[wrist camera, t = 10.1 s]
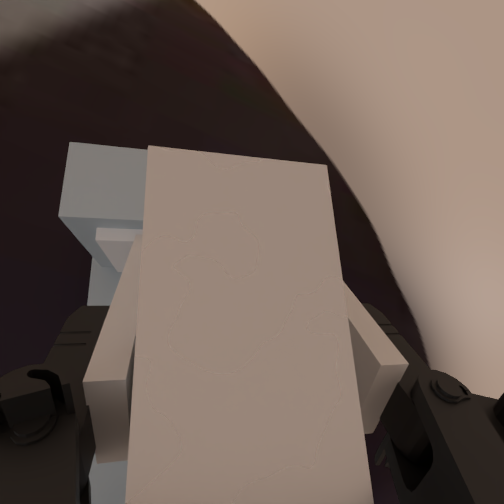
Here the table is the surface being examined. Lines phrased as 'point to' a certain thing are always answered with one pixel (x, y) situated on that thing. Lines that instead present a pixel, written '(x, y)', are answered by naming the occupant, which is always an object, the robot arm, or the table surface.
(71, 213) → the vise
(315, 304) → the steel block
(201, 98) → the table surface
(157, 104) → the table surface
